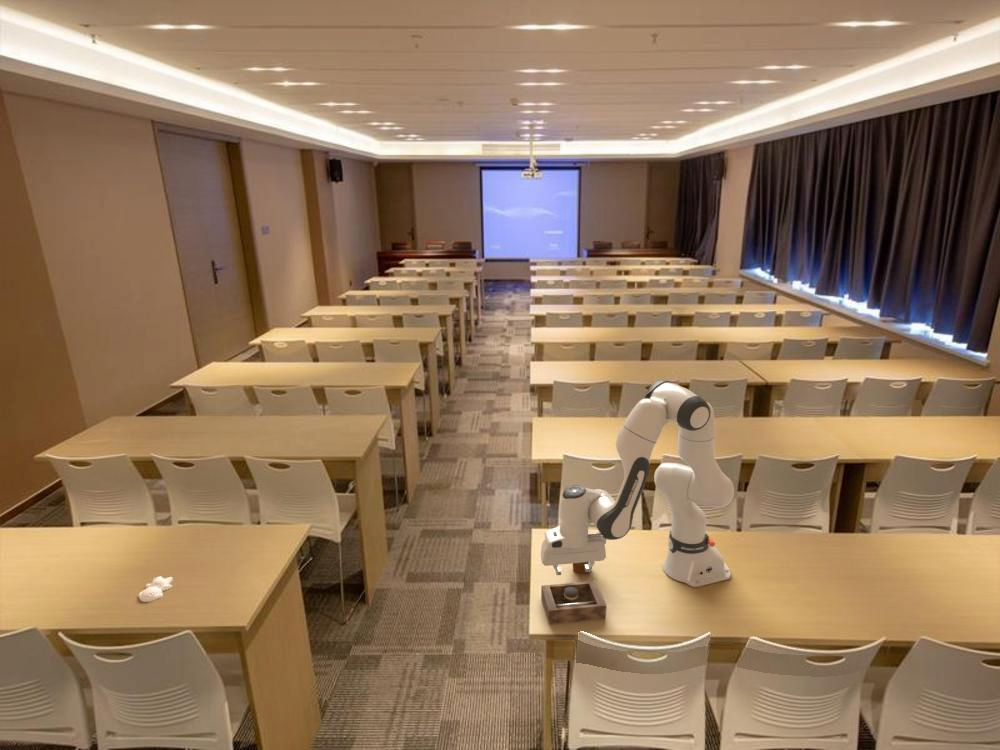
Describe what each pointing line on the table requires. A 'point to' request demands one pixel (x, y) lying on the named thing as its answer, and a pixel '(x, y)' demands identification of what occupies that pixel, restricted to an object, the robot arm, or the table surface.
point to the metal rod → (575, 604)
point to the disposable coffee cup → (580, 568)
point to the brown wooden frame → (573, 612)
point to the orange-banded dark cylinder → (570, 595)
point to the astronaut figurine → (155, 589)
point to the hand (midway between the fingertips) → (573, 572)
